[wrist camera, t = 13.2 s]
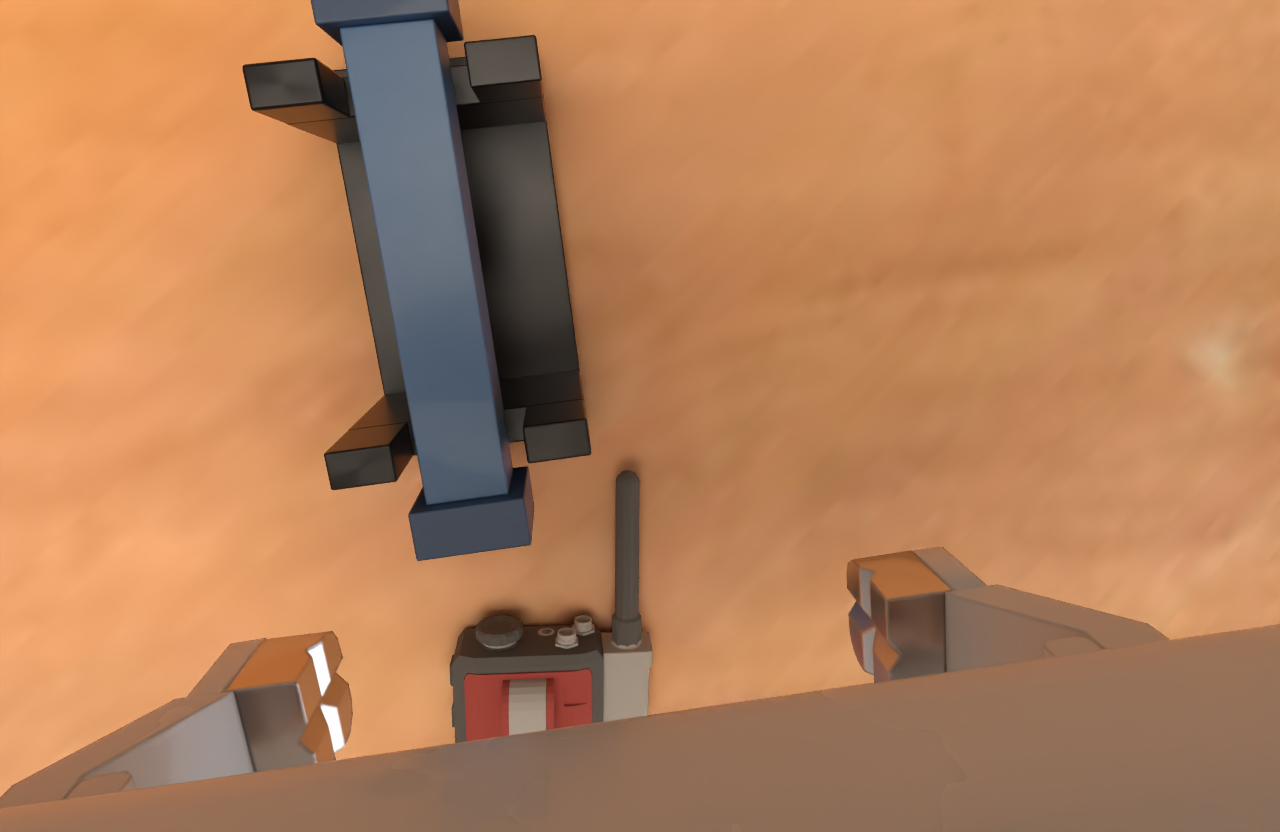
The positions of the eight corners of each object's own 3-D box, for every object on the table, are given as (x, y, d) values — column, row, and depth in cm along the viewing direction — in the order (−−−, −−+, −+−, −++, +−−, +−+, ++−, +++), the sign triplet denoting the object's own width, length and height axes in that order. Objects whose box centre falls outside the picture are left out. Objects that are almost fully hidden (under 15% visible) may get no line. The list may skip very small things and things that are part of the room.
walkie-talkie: (644, 849, 41) (649, 461, 36) (654, 922, 37) (662, 492, 32) (464, 860, 40) (447, 465, 36) (453, 936, 36) (432, 497, 31)
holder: (537, 55, 32) (528, -21, 22) (586, 423, 36) (597, 497, 26) (331, 76, 32) (228, 7, 22) (401, 448, 35) (339, 534, 25)
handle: (455, -15, 25) (439, -54, 22) (534, 508, 29) (531, 545, 26) (337, -4, 25) (302, -41, 22) (433, 522, 29) (416, 562, 26)
